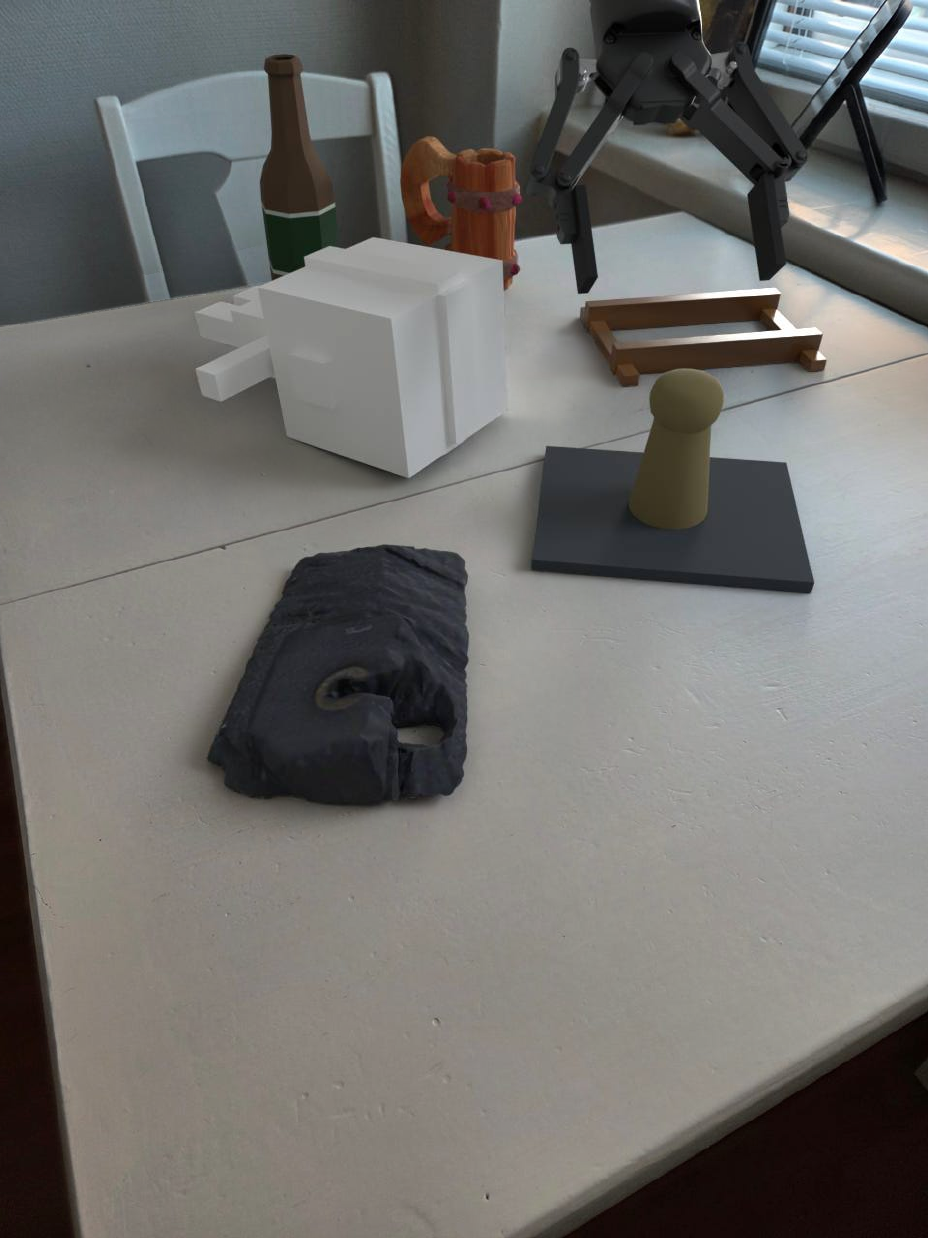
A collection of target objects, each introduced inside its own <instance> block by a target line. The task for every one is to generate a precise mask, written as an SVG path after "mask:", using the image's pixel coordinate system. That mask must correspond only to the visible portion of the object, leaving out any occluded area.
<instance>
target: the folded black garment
mask: <svg viewBox="0 0 928 1238" xmlns="http://www.w3.org/2000/svg"><path fill="white" fill-rule="evenodd" d="M468 579H469V574H468V572H467V570H466V560H465V559H464V558H463V557H462V555H460V554H459V553H457V552H454V551H451V550H450V551H449V550H440V549H439V550H438V549H431V548H427V547H424V548H415V546H414V545H401V544H386V543H384V544H379V545H373V546H365V547H356V548H352V549H350V550H340V551H331V552H318V553H316V554H313V556H305V557H302V558H301V559H300V560H298V562H297V563H296V564H295V565H294V568H293V569H292V570H291V573H290V576H289V577H288V578H287V579H286V581H285V583H284V585H283V589H282V592H281V594H282V596H281V598H280V599H279V600H278V601H277V602H276V603H275V605H274V609H272V611H271V612H270V614H269V616H268V622H267V623H266V625H265V626H264V628H263V630H262V632H261V633H260V635H259V637H258V638H257V640H256V644H255V645H254V647H253V650H252V653H251V656H250V657H249V658H248V660H247V662H246V665H245V669H244V673H243V675H242V677H241V678H240V680H239V681H238V684H237V687H236V690H235V692H234V694H233V696H232V699H231V701H230V704H229V705H228V708H227V711H226V713H225V715H224V716H223V719H222V721H221V724H220V726H219V727H218V729H217V732H216V734H215V736H214V739H213V741H212V743H211V745H210V747H209V750H208V752H207V756H206V761H207V762H209V763H211V764H212V765H215V766H217V767H221V768H222V770H223V771H224V780H223V784H224V786H225V787H226V788H227V789H229V790H231V791H233V792H236V793H244V794H245V795H246V796H248V797H250V798H263V799H264V800H269V799H272V798H273V797H280V796H281V797H293V798H299V799H303V800H306V801H308V802H312V803H319V804H323V805H334V806H335V805H336V806H367V807H369V806H370V807H371V806H377V805H381V804H382V803H383V802H385V801H388V800H391V799H392V800H394V801H397V800H398V798H399V796H400V797H401V798H403V799H416V800H418V799H420V798H421V797H422V796H423V795H426V796H431V797H432V796H433V797H434V796H439V795H442V796H445V797H448V796H449V797H450V796H451V795H452V794H453V793H454V791H455V790H456V789H457V788H458V787H459V786H460V785H461V784H462V782H463V778H464V776H465V771H464V768H463V767H464V763H465V761H466V760H467V754H468V745H467V726H468V721H469V720H468V696H467V692H468V684H467V682H466V680H467V677H468V676H467V671H466V667H467V665H468V664H469V661H470V658H469V656H468V655H469V654H468V651H469V646H470V634H469V630H468V626H467V624H466V623H467V619H468V616H467V615H468V614H467V608H466V607H467V596H466V587H467V585H468ZM417 725H437V726H438V727H440V729H441V730H442V732H443V735H442V736H441V737H440V739H439V741H438V742H436V743H435V744H433V745H432V744H431V745H426V744H423V743H411V742H406V741H404V742H402V741H400V740H399V738H398V737H399V731H398V729H397V728H400V727H404V726H417Z"/></svg>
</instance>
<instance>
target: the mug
mask: <svg viewBox="0 0 928 1238" xmlns="http://www.w3.org/2000/svg"><path fill="white" fill-rule="evenodd" d="M439 176H443V177H446V178H449V180H448V181H447V183H446V189H447V196H446V198H447V201H448V202H449V203H450V204H451V216H443V215H442V214H441V213H439V212H438V210H437V209H436V207H435V205H434V203H433V201H432V198H431V191H430V185H429V182H430V181H431V180H433V179H435V178H437V177H439ZM399 180H400V181H399V184H400V195H401V200H402V204H403V205H402V206H403V208H404V212H405V213H404V214H405V216H406V218H407V220H408V222H409V224H410V226H411V228H412V229H413V231H414V232H415V234H416V236H417V237H418V238H419V239H420V241H421V242H422V243H423V244H424V245H425V246H426V247H430V246H431V245H432V246H433V244H435V243H437V242H439V241H441V240H442V239H443V238H444V237H446V236H449V235H450V243H447V244H445V245H444V250H447V251H453V252H458V253H464V254H469V255H475V256H480V257H486V258H491V259H497V260H502V261H503V287H504V291H507V290H508V289H509V288H510V287H511V285H512V284H513V281H514V280H513V277H514V276H517V275H518V274H519V273H520V271H521V267H520V265H519V264H518V262H519V254H518V251H517V250H516V248H515V232H516V231H515V227H516V226H515V225H516V217H517V215H516V213H517V211H516V210H517V209H516V206H518V205H520V204H521V203H522V201H523V198H522V195H521V194H520V193H521V191H520V190H521V186H520V184H519V182H518V181H517V180H516V157H515V156H514V155H513V154H512V153H511V152H509V151H506V152H502V151H501V150H499V149H497V148H488V147H483V148H479V150H477V151H475V150H474V149H471V148H467V149H464V150H461V151H460V152H458V153H457V154H455V153H452V152H451V151H449V150H448V149H447V148H446V147H445V146H444V145H443V144H442V143H441V141H440V140H439V139H438V138H437V137H435V136H430V135H429V136H428V135H427V136H424V137H423V138H420V139H418V140H416V141H415V142H413V144H412V145H411V146H410V148H409V149H408V151H407V152H406V154H405V157H404V159H403V163H402V165H401V168H400V177H399Z"/></svg>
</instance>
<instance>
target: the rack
mask: <svg viewBox="0 0 928 1238" xmlns="http://www.w3.org/2000/svg"><path fill="white" fill-rule="evenodd" d="M781 296H782V294H781V292H780V291H779V290H778V289H777V288H775V287H772V288H760V289H759V288H757V289H744V290H731V291H729V290H727V291H716V292H715V291H714V292H700V293H698V292H697V293H687V294H686V293H685V294H671V295H670V294H669V295H656V296H641V297H628V298H627V297H625V298H611V299H598V300H596V299H595V300H586V301H585V302H584V303H585V304H584V306H581V307H580V310H579V319H580V321H581V322H582V323H583V324H582V327H583V329H584V330H585V332H586V333H589V335H590V336H591V338H592V340H593V341H594V343H595V345H596V347H597V348H598V349H599V351H600V353H601V354H602V356H603V357H604V359H605V361H606V362H607V364H608V366H609V371H610V373H611V374H612V376H613V377H616V378H617V381H618V382H619V384H620V386H621V387H623V388H626V387H637V386H639V383H640V376H641V375H646V374H647V375H648V374H658V373H665V372H668V371H671V370H675V369H682V368H686V369H696V370H711V369H712V370H713V369H722V368H734V367H735V368H736V367H751V366H760V365H761V366H762V365H763V366H764V365H773V364H786V363H800V364H801V365H802V366H803V367H804V368H805V369H806V370H807V371H808V372H809V373H813V372H823V371H825V368H826V365H827V361H828V360H827V358H826V357H825V356H824V355H823V354H822V353H821V352H820V351H819V350H820V346H821V344H822V343H821V342H822V339H823V335H824V334H823V333H822V332H821V330H819V329H818V328H817V327H809V328H796V327H795V326H794V325H793V324H792V323H791V322H789V320H788V319H787V318H786V317H784V315H783V314H781V312H780V311H779V310H778V308H779V304H780V299H781ZM751 321H760V322H761V323H762V324H763V325H764V326H765V327H766V328H767V329H768V331H755V332H742V333H729V334H714V335H713V334H712V335H701V336H700V335H699V336H686V337H674V338H660V339H659V338H658V339H646V340H645V339H644V340H632V341H620V342H619V341H618V339H617V338H616V337H615V335H614V333H613V332H612V331H625V330H640V329H652V328H666V327H679V326H682V327H683V326H693V325H695V326H696V325H709V324H721V323H735V322H736V323H737V322H751Z"/></svg>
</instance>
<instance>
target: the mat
mask: <svg viewBox="0 0 928 1238" xmlns="http://www.w3.org/2000/svg"><path fill="white" fill-rule="evenodd" d="M643 453H644V451H643V452H641V451H627V450H616V449H615V450H614V449H598V448H586V447H585V448H582V447H572V446H571V447H570V446H568V447H567V446H558V445H557V446H556V445H546V446H545V451H544V460H543V467H542V476H541V483H540V491H539V500H538V508H537V515H536V522H535V532H534V540H533V547H532V554H531V555H532V556H531V565H530V566H531V567H530V570H531V571H538V572H549V573H562V574H572V575H586V576H587V575H588V576H598V577H599V576H600V577H611V578H623V579H636V580H646V581H647V580H648V581H659V582H671V583H672V582H673V583H682V584H683V583H684V584H695V585H706V586H707V585H708V586H719V587H732V588H746V589H755V590H770V591H780V592H781V591H782V592H793V593H803V594H804V593H805V594H811V593H812V591H813V588H814V585H815V579H814V574H813V571H812V566H811V563H810V559H809V554H808V550H807V544H806V542H805V537H804V532H803V528H802V524H801V520H800V515H799V510H798V506H797V502H796V498H795V494H794V490H793V485H792V480H791V477H790V473H789V472H790V471H789V468H788V463H787V462H786V461H770V460H769V461H768V460H755V459H743V458H727V457H713V456H710V463H709V484H708V506H707V514H706V517H705V519H704V520H703V521H702V522H700V523H699V524H698V525H695V526H693V527H690V528H686V529H679V530H671V529H662V528H657V527H653V526H650V525H648V524H646V523H644V522H642V521H640V520H639V519H638V518H637V517H635V516H634V515H633V513H632V512H631V510H630V508H629V500H630V496H631V493H632V490H633V486H634V483H635V480H636V476H637V473H638V470H639V466H640V463H641V460H642V457H643Z"/></svg>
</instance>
